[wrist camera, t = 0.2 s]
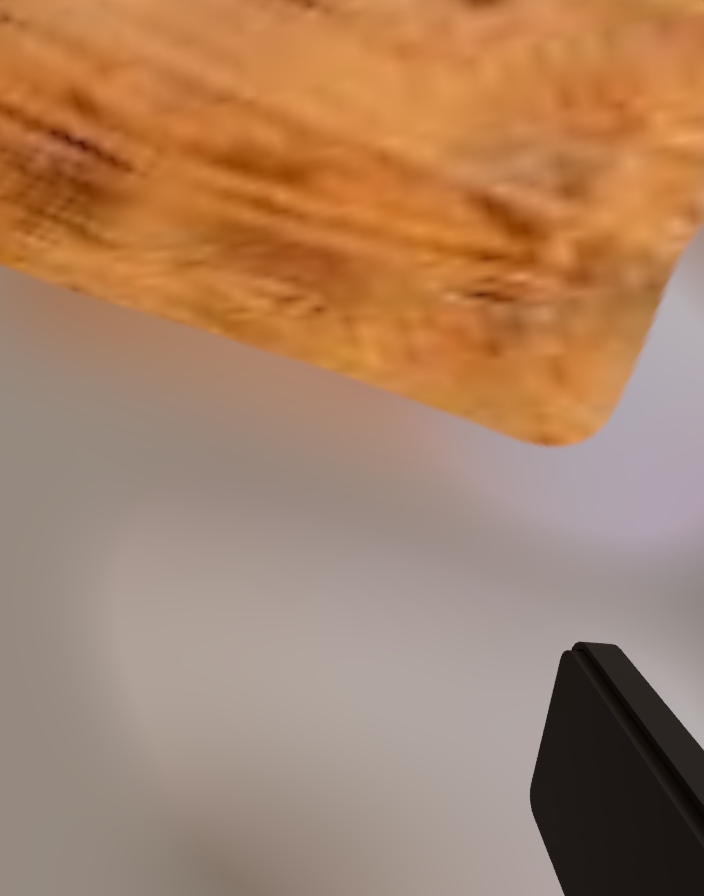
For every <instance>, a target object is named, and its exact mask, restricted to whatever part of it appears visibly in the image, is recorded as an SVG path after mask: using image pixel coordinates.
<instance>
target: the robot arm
mask: <svg viewBox="0 0 704 896" xmlns="http://www.w3.org/2000/svg"><path fill="white" fill-rule="evenodd" d="M530 802H531V808H532V812H533V816H534V818H535V821H536V823H537V826H538V829H539V831H540V834H541V836H542V839H543V841H544V844H545V846H546V849H547V852H548V854H549V857H550V859H551V862H552V864H553V867H554V870H555V872H556V875H557V877H558V880H559V882H560V884H561V887H562V890H563V893H564V895H565V896H704V750H703V749H702V748H701V746H700V745H699V744H698V743H697V742H696V740H695V739H694V738H693V737H692V735H691V734H690V733H689V732H688V731H687V729H686V728H685V727H684V726H683V725H682V723H681V722H680V721H679V720H678V718H677V717H676V716H675V715H674V714H673V712H672V711H671V710H670V709H669V707H668V706H667V705H666V704H665V703H664V702H663V700H662V699H661V698H660V697H659V695H658V694H657V693H656V692H655V690H654V689H653V688H652V687H651V686H650V684H649V683H648V682H647V681H646V680H645V678H644V677H643V676H642V675H641V673H640V672H639V671H638V670H637V669H636V667H635V666H634V665H633V664H632V663H631V661H630V660H629V659H628V658H627V656H626V655H625V654H624V653H623V651H622V650H621V649H620V648H619V647H618V646H616V645H613V644H604V643H590V642H578V643H575V645H574V646H573V647H572V650H571V651H569V650H567V651H565V652H564V653H563V654H562V656H561V659H560V664H559V667H558V672H557V676H556V681H555V684H554V689H553V693H552V697H551V702H550V706H549V710H548V714H547V719H546V723H545V727H544V731H543V736H542V740H541V744H540V749H539V753H538V757H537V761H536V766H535V770H534V774H533V778H532V783H531V788H530Z"/></svg>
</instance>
